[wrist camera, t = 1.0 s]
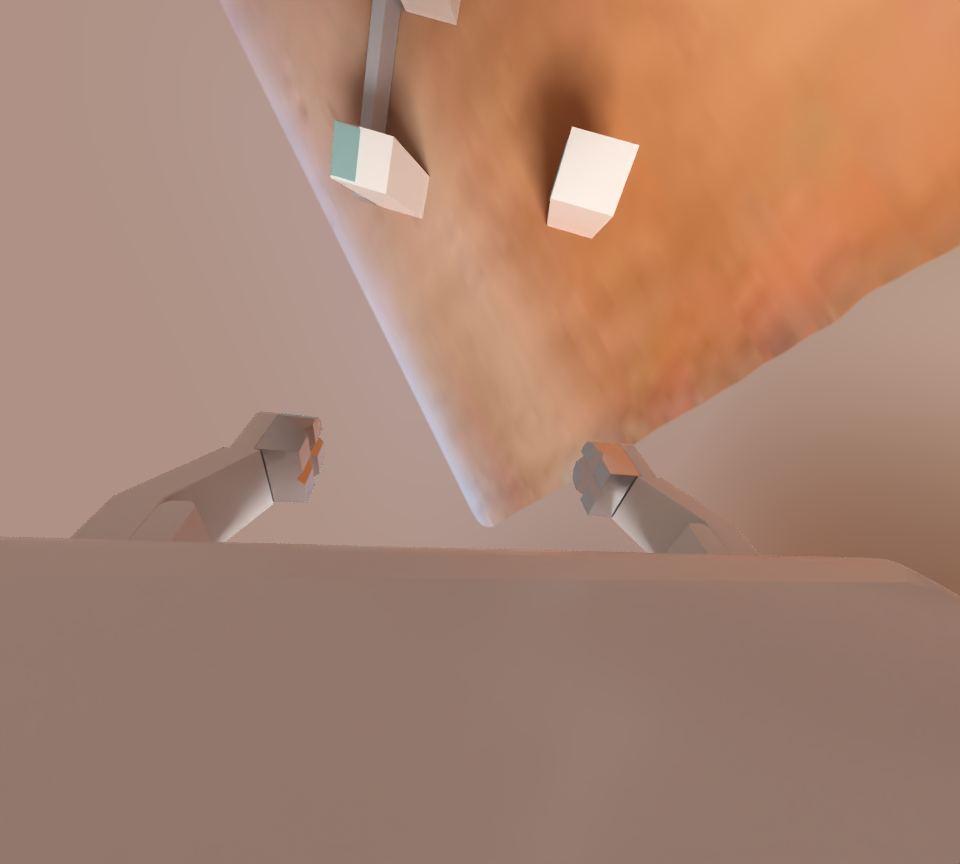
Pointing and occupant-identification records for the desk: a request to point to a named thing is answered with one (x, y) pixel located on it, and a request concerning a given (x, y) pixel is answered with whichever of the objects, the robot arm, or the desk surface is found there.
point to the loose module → (589, 182)
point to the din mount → (384, 119)
